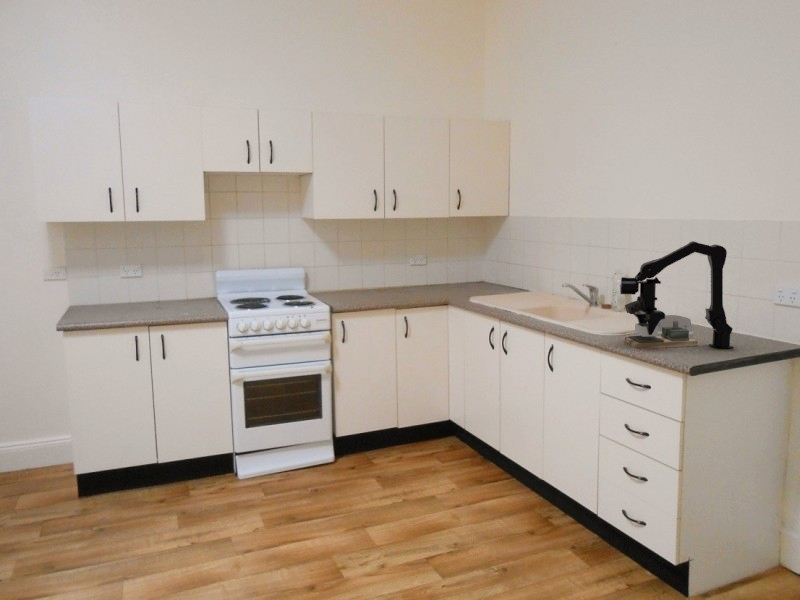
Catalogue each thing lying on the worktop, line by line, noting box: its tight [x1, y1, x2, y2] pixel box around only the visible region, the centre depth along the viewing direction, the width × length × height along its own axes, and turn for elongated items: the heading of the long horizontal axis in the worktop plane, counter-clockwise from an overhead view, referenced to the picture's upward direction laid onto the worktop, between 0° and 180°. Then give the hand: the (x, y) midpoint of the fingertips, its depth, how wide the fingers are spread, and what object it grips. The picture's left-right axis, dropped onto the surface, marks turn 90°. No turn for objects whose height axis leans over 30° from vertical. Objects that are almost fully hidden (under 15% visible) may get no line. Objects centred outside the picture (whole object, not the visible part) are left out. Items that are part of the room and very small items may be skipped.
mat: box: [628, 335, 664, 343], centre depth 255 cm, size 10×10×1 cm
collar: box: [634, 322, 658, 337], centre depth 255 cm, size 6×6×4 cm
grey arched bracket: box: [657, 314, 694, 339], centre depth 270 cm, size 17×5×10 cm, turn 79°
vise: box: [624, 321, 698, 350], centre depth 256 cm, size 12×24×9 cm, turn 94°
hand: (646, 333), depth 255 cm, fingers closed on collar, 6 cm apart
